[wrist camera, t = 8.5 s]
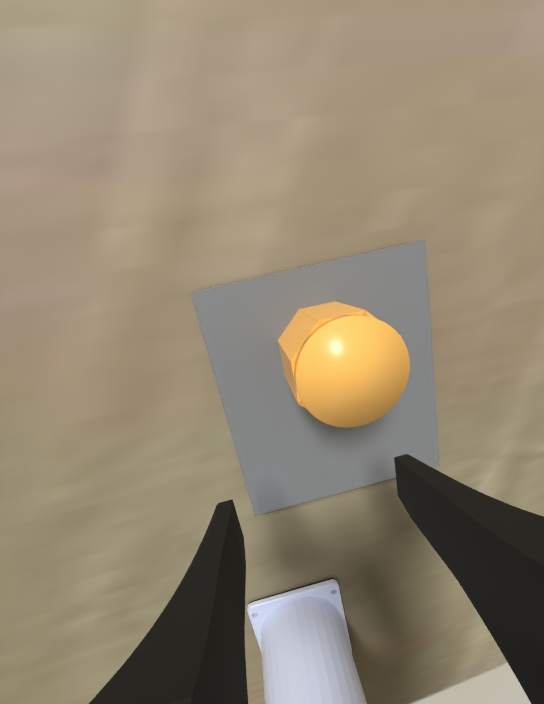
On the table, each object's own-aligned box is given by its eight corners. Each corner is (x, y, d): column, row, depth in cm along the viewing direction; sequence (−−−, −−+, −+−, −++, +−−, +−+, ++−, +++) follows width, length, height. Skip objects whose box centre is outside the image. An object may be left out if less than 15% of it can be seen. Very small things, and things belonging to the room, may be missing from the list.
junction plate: (426, 453, 23) (468, 492, 19) (253, 500, 23) (257, 551, 18) (410, 242, 19) (459, 234, 15) (194, 291, 18) (181, 296, 14)
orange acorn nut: (369, 378, 19) (413, 413, 15) (288, 397, 19) (306, 439, 14) (360, 295, 18) (406, 304, 13) (272, 314, 17) (286, 330, 13)
